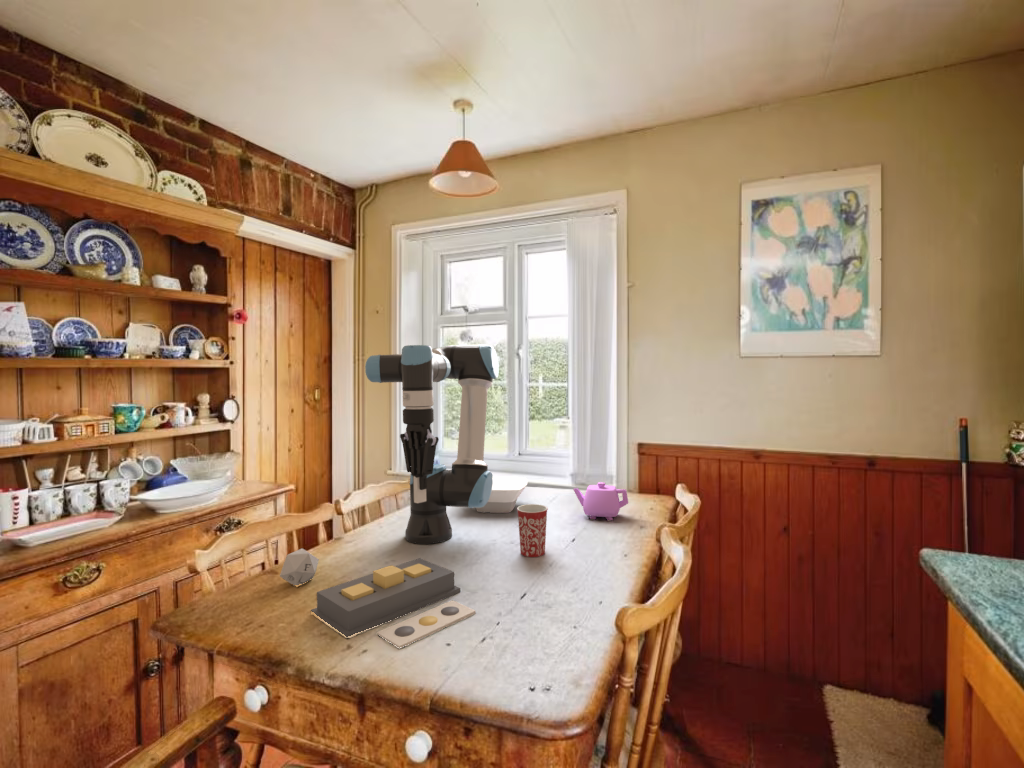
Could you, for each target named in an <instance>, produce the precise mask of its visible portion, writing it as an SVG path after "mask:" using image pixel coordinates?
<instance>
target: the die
mask: <svg viewBox="0 0 1024 768" xmlns="http://www.w3.org/2000/svg"><path fill="white" fill-rule="evenodd" d="M319 561H320V559H319V558H318V557H317V556H314V555H313V554H312V553H311V552H309V551H307V550H306V549H304V548H303V547H302V548H300V549H298V550H295V551H293V552H291V553H288V554H286V556H285V560H284V562H283V565H282V568H281V571H280V574H279V577H280V578H282V579H283V580H285V581H286V582H288V583H289V584H290V585H292V584H293V585H292V586H294V585H299V584H303V583H305V582H307V581H309V580H310V579H312V578H313V579H314V577H315V575H316V572H317V568H318V564H319ZM313 579H312V580H313ZM309 582H310V581H309ZM307 583H308V582H307ZM305 584H306V583H305ZM303 585H304V584H303Z"/></svg>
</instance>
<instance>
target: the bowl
mask: <svg viewBox="0 0 1024 768" xmlns="http://www.w3.org/2000/svg"><path fill="white" fill-rule="evenodd" d="M492 479H493V485H492V491H491V495H490V498H489V500H488V502H487V504H486V505H485V506H483V507H480V508H475V509H476V511H477V512H478V513H485V512H490V513H492V514H495V513H496V514H505V513H506V514H508V513H511V512H512V511H513V510H514V509H515V507H516V505H517V500H518V499H519V497H520V496H521V494H522V493H523V492H524V490H525V489H526V488H527V485H528V479H527V478H526V477H519V476H493V478H492Z"/></svg>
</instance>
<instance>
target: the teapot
mask: <svg viewBox="0 0 1024 768" xmlns="http://www.w3.org/2000/svg"><path fill="white" fill-rule="evenodd" d="M627 491H628V490H627V489H625V488H623V489H622V488H617V487H616V486H615V485H608V484H606V482H602V481H599V482H597V484H589V485H588V486H587V488H586V491H585V494H583V493H582V492H581V490H579V488H577V487H575V488H573V492H574V494H575V496H576V497H577V499H578V502H579V503H580V505H581V507H582V508H583V509H582V510H583V514H585V515H586V516H588V517H589V518H590V519H589V518H588V519H589V520H591V519H594V520H596V519H597V517H598V518H599V517H602V518H604V517H605V520H606V519H607V520H606V521H608V520H612V521H613V520H614V519H613V518H614V517H617V516H618V515H619V512H620V510H621V508H623V507H625V506H626V505H629V498H628V497H629V496H628V493H627ZM619 494H621V495H622V500H620V497H619Z"/></svg>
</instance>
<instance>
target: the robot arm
mask: <svg viewBox="0 0 1024 768" xmlns="http://www.w3.org/2000/svg"><path fill="white" fill-rule="evenodd" d="M499 368H500V367H499V359H498V356H497V352H496V350H495V347H493V346H492V345H490V344H481V343H479V344H457V345H456V344H452V345H450V344H449V345H443V346H439V347H435V348H432V346H430V345H425V344H412V345H409V344H408V345H404V346H403V347H402V348H401V353H395V354H376V355H370V356H369V357H367V359H366V360H365V367H364V369H365V375H366V378H367V379H368V381H369V382H372V383H379V384H381V383H386V384H387V383H402V387H401V388H402V389H401V390H402V407H405V408H403V409H402V423H403V424H404V425H406V429H405V432H404V433H400V435H399V438H400V440H401V443H402V447H403V455H404V461H405V466H406V471H407V473H410V475H409V495H410V496H409V499H410V500H409V503H410V505H409V506H410V513H409V514H410V515H409V518H408V522H407V525H406V529H405V532H404V533H405V537H404V538H405V540H406V541H407V542H409V543H412V544H417V545H419V544H420V545H421V544H422V545H431V544H437V543H442V542H443V543H444V542H445V541H448V540H449V539H451V538H452V537H453V528H452V525H451V522H450V518H449V516H448V512H447V507H452V508H453V507H455V508H469V509H474V508H475V509H476V508H480V507H483V506H485V505H486V504H487V502H488V500H489V498H490V495H491V491H492V485H493V479H492V478H493V477H494V476H493V472H491V471H490V470H488V467H489V465H488V464H487V463H486V462H485V461H484V454H485V440H486V422H487V420H486V419H487V408H488V407H487V406H488V405H487V404H488V389H490V388H491V387H492V386H493V381H494V380H497V379H498V377H499V374H500V373H499V372H500V369H499ZM446 379H449V380H450V379H451V380H452V379H453V380H457V383H458V384H459V386H460V387H461V388H462V389H461V400H460V403H461V404H460V413H459V414H460V415H459V416H460V417H459V428H458V429H459V430H458V441H457V442H458V444H457V455H456V456H457V457H456V459H455V460H454V461H453V462H452V463H451V469H447V466H446V465H445V464H440V463H439V464H438V463H437V464H435V456H436V450H437V445H438V442H439V437H438V436H434V435H433V431H432V427H431V424H432V423H434V420H435V419H434V418H435V417H434V413H435V412H434V409H433V406H434V383H439V382H442V381H444V380H446Z"/></svg>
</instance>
